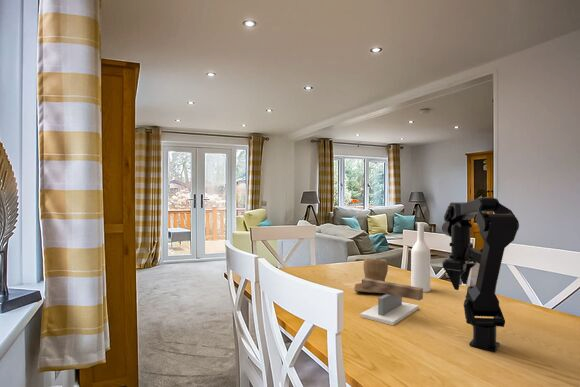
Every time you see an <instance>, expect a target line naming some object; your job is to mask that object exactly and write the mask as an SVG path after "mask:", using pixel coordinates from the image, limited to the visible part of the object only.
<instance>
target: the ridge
mask: <svg viewBox="0 0 580 387" xmlns="http://www.w3.org/2000/svg"><path fill="white" fill-rule="evenodd" d="M377 298H378V299H377V300H378V302H377V304H376V305H374V306H372V307H370V308H368V309H366V310H365V311H362V312H361V313H360V316H359V317H361V318H363V319H367V320H371V321H375V322H378V323H382V324H386V325H390V326H394V325H397V323H399V322H401V321H402V320H404V319H406V318H407V317H408V316H409V315H411V314H413V313H414V312H416V311H417V310H419V304H414V303H409V302H404V301H403V297H400V296H395V295H390V294H385V293H384V294H383V295H381V296H379V297H377Z"/></svg>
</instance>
